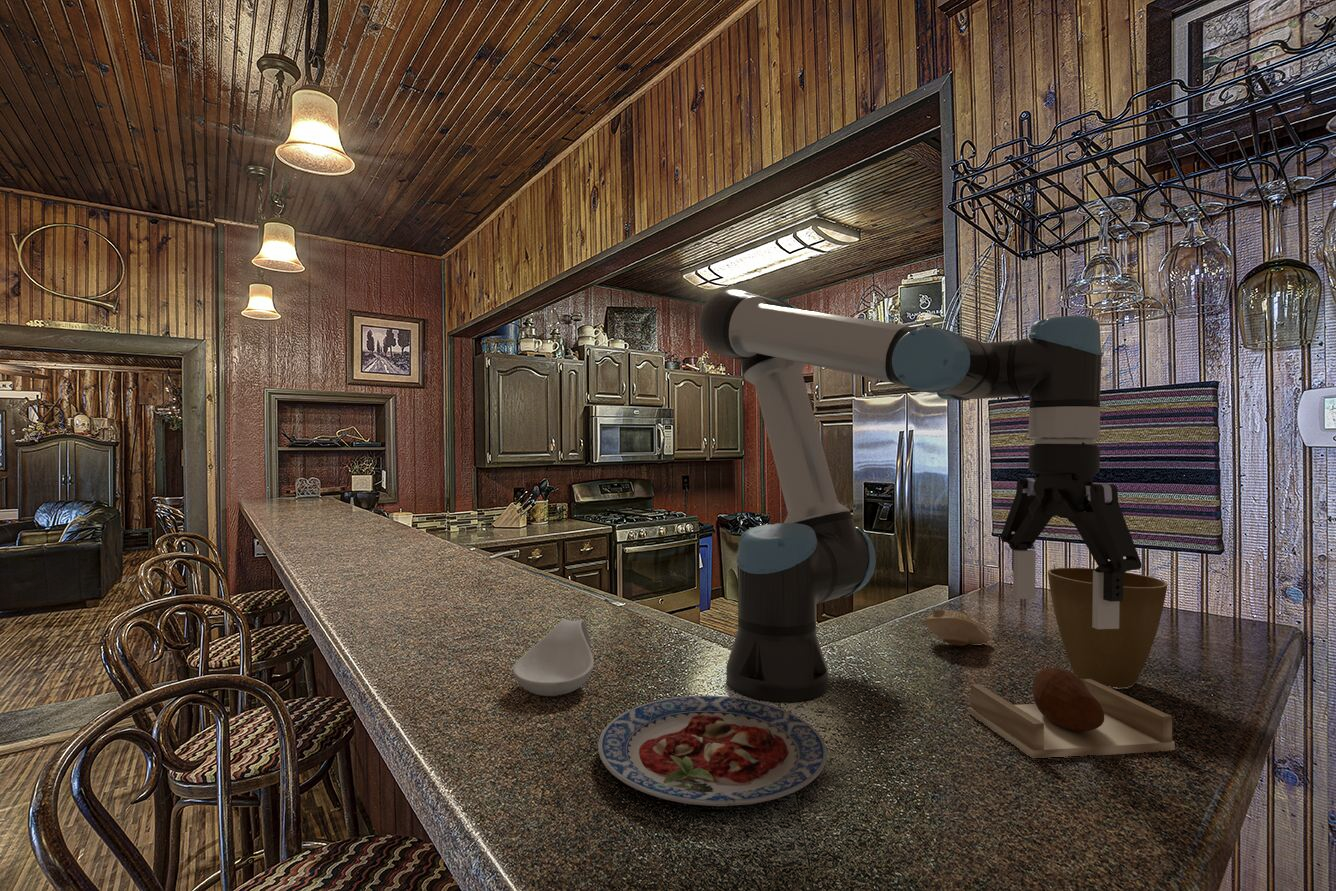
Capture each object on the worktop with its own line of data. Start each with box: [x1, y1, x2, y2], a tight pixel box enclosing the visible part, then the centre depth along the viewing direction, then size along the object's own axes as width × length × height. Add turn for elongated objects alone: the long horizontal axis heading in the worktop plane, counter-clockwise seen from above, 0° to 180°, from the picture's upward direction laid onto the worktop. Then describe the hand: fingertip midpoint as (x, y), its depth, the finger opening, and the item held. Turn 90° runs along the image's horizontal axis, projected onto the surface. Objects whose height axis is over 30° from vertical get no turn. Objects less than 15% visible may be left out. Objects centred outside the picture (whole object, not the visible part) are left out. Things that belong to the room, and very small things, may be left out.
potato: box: [1032, 667, 1104, 731], centre depth 77 cm, size 6×12×6 cm, turn 1°
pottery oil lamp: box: [923, 609, 991, 647], centre depth 111 cm, size 9×12×7 cm
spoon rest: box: [511, 618, 595, 697], centre depth 97 cm, size 24×12×7 cm, turn 178°
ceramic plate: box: [597, 695, 828, 807], centre depth 71 cm, size 26×26×3 cm
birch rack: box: [968, 679, 1176, 758], centre depth 77 cm, size 18×12×4 cm, turn 97°
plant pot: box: [1047, 567, 1168, 687], centre depth 94 cm, size 15×15×16 cm
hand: (1061, 612), depth 78 cm, fingers open, 13 cm apart
